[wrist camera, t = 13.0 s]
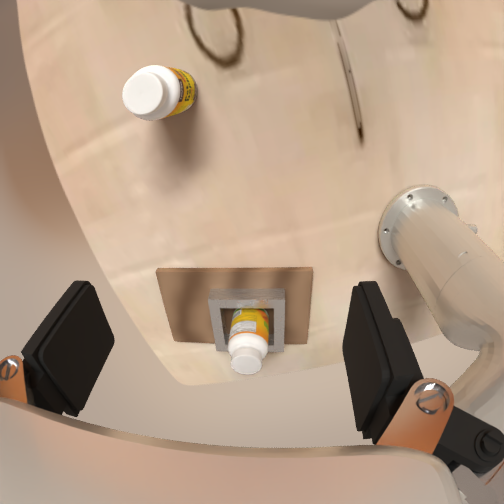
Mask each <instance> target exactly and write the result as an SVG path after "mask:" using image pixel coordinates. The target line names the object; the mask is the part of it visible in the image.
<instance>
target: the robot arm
mask: <svg viewBox="0 0 504 504" xmlns="http://www.w3.org/2000/svg"><path fill="white" fill-rule="evenodd" d="M408 195H409V196H408ZM407 196H408V197H407ZM384 229H385V230H384ZM476 233H477V226H476V225H467V224H465V223H464V222H463V221H462V220H461V219H460V218H459V215H458V211H457V207H456V205H455V203H454V201H453V200H452V199H451V198H450V196H449V195H448V194H446V193H445V192H444V191H442V190H441V189H439V188H437V187H434V186H430V185H419V186H414V187H411V188H409V189H407V190H405V191H403V192H401V193H400V194H399V195H398V196H396V197H395V198H394V199H393V200H392V201H391V203H390V204H389V205H388V206H387V208H386V210H385V211H384V213H383V215H382V218H381V221H380V225H379V230H378V239H379V244H380V247H381V249H382V252H383V254H384V255H385V257H386V258H387V260H388V261H389V262H390V263H391V264H393V265H394V266H395V267H397V268H400V269H403V270H407V271H408V273H409V275H410V276H411V278H412V280H413V281H414V283H415V285H416V286H417V288H418V290H419V292H420V293H421V295H422V297H423V299H424V300H425V302H426V304H427V306H428V308H429V309H430V311H431V313H432V315H433V317H434V318H435V320H436V322H437V324H438V326H439V327H440V329H441V331H442V333H443V334H444V336H445V337H446V338H447V339H448V340H449V341H450V342H452V343H453V344H454V345H456V346H458V347H461V348H464V349H468V350H474V351H480V353H479V355H478V357H477V358H476V360H475V361H474V362H473V363H472V364H471V365H470V367H469V368H468V369H467V370H466V371H465V372H464V373H463V375H461V376H460V377H459V378H458V379H457V380H456V381H455V382H454V383H453V384H452V385H451V386H450V387H448V386H447V385H446V384H445V383H444V382H442V381H440V380H437V379H433V378H426V379H424V378H423V375H422V373H421V370H420V368H419V365H418V362H417V360H416V357H415V354H414V352H413V349H412V347H411V344H410V342H409V340H408V337H407V335H406V332H405V330H404V328H403V325H402V323H401V321H400V320H399V319H398V318H392V316H391V314H390V311H389V309H388V307H387V304H386V302H385V300H384V297H383V295H382V293H381V291H380V288H379V286H378V284H377V282H376V281H363V282H359V284H358V286H354V287H353V290H352V296H351V302H350V307H349V313H348V318H347V324H346V329H345V334H344V339H343V356H344V361H345V365H346V370H347V376H348V382H349V387H350V393H351V398H352V404H353V410H354V416H355V422H356V428H357V431H362V433H363V439H370V438H372V442H373V444H374V445H357V446H333V447H314V448H251V447H250V448H249V447H232V446H218V445H207V444H197V443H188V442H181V441H173V440H166V439H160V438H154V437H148V436H143V435H138V434H132V433H128V432H123V431H118V430H114V429H110V428H105V427H101V426H98V425H94V424H90V423H86V422H83V421H79V420H76V419H72V418H69V417H66V416H63V415H62V413H63V411H64V412H65V413H66V414H68V415H71V416H74V417H77V416H78V414H79V412H80V410H83V408H84V406H85V404H86V402H87V400H88V397H89V395H90V393H91V391H92V388H93V387H94V384H95V382H96V380H97V378H98V376H99V374H100V372H101V370H102V368H103V366H104V364H105V362H106V359H107V357H108V355H109V353H110V351H111V349H112V347H113V345H114V335H113V333H112V331H111V328H110V326H109V324H108V321H107V319H106V317H105V314H104V312H103V309H102V306H101V304H100V301H99V298H98V296H97V293H96V291H95V288H94V286H93V285H91V284H90V282H89V281H74V282H73V283H72V284H71V286H70V287H69V288H68V289H67V291H66V292H65V293H64V294H63V296H62V297H61V298H60V299H59V301H58V302H57V303H56V304H55V306H54V307H53V308H52V310H51V311H50V312H49V314H48V315H47V316H46V318H45V319H44V320H43V322H42V323H41V324H40V326H39V327H38V329H37V330H36V331H35V333H34V334H33V335H32V337H31V338H30V340H29V341H28V342H27V344H26V345H25V347H24V348H23V350H22V351H21V353H22V355H23V356H24V360H23V361H22V359H21V358H19V357H18V356H15V355H11V356H8V357H6V358H4V359H3V360H1V361H0V504H504V262H503V260H501V259H500V258H499V257H498V256H497V255H496V254H495V252H494V251H493V250H492V249H491V248H490V247H489V246H487V245H486V244H485V243H484V242H483V241H482V240H481V239H480V238H479V237H478V236H477V235H476Z"/></svg>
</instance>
